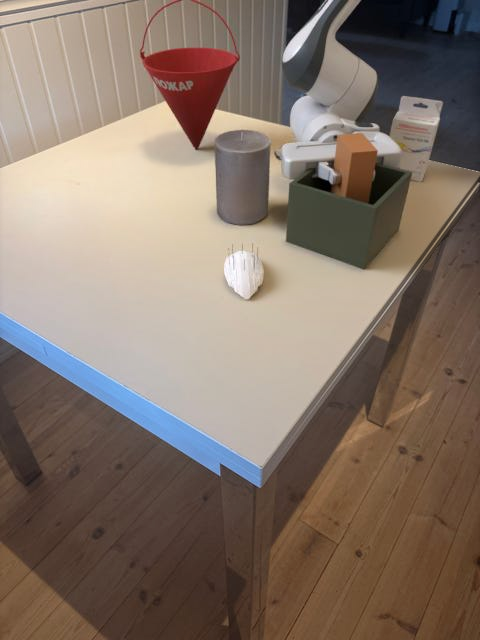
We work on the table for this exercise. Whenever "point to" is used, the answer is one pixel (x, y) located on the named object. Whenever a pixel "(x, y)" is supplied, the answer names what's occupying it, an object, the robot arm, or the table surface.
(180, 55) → the fire bucket
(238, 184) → the pillar candle
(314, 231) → the waste bin
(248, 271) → the pincushion
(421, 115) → the ink cartridge box
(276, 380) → the table surface
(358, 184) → the orange rectangular block
